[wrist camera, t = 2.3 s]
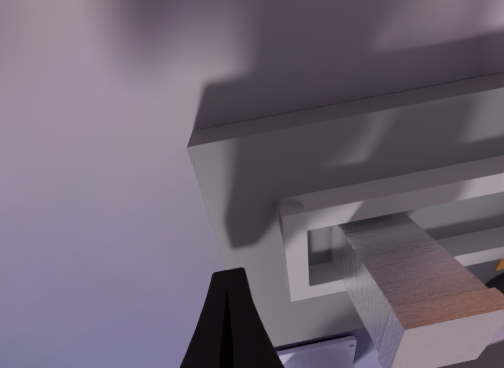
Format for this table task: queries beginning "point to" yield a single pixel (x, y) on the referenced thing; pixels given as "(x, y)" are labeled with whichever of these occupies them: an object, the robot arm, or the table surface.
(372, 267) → the fader tab
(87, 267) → the table surface
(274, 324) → the console board
